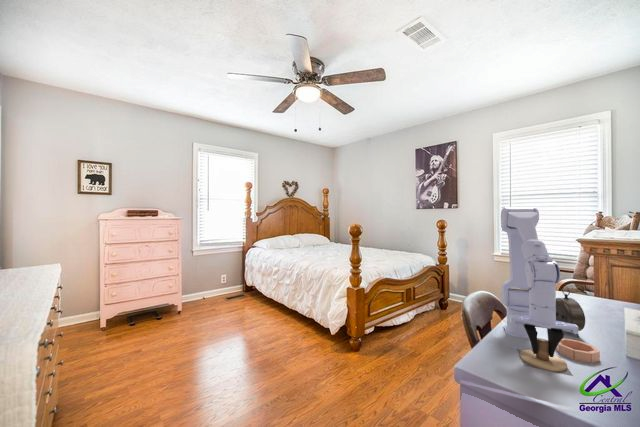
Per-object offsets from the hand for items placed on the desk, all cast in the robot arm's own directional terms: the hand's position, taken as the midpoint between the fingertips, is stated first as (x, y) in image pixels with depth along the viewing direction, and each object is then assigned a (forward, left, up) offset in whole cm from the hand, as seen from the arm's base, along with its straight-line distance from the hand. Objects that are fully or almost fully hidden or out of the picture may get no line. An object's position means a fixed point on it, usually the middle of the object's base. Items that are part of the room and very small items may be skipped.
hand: (542, 354), depth 74 cm
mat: (0, 0, -3) cm, 3 cm away
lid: (0, 0, -2) cm, 2 cm away
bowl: (-10, +10, -3) cm, 14 cm away
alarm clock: (-30, +13, -3) cm, 33 cm away
